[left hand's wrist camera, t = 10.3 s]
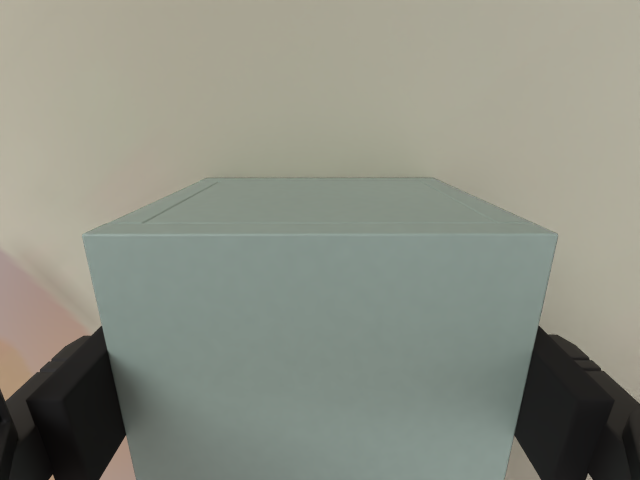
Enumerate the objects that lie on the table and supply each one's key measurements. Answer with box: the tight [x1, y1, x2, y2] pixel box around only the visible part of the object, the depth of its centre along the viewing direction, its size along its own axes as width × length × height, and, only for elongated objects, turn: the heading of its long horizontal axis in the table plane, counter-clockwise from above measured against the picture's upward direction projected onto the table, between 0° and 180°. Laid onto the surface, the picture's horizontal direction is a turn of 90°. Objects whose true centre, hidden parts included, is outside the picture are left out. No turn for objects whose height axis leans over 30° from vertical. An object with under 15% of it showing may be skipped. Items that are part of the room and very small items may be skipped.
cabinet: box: [82, 178, 558, 480], centre depth 15 cm, size 21×11×9 cm, turn 0°
